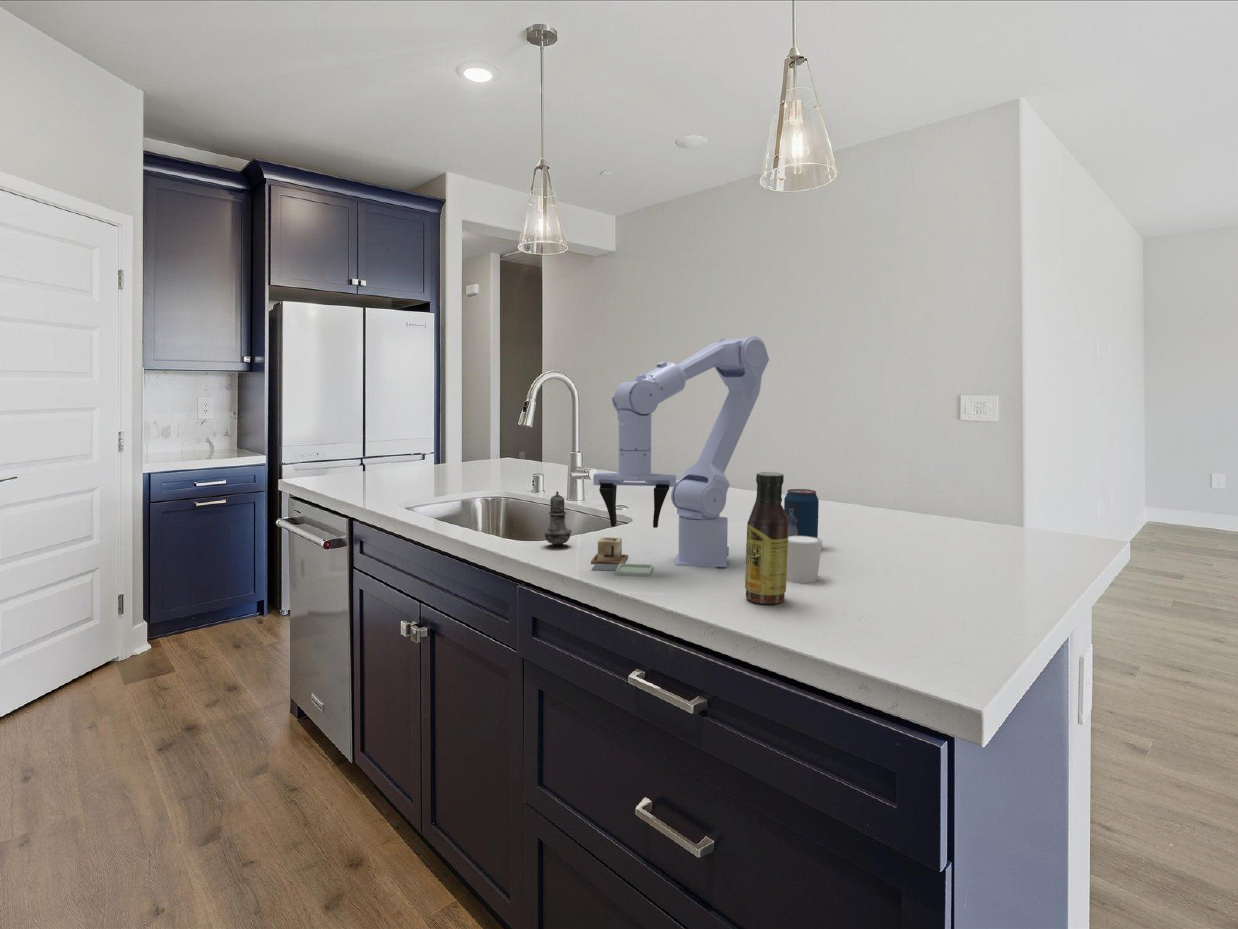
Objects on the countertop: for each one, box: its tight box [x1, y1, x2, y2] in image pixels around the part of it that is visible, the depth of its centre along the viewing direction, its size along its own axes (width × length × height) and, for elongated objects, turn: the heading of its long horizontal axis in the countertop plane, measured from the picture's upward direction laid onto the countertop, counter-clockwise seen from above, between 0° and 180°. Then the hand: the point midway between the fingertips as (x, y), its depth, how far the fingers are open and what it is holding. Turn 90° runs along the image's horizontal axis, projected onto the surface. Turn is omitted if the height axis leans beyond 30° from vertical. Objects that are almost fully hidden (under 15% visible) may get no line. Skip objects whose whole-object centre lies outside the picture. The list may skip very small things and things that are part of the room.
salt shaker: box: [542, 491, 573, 550], centre depth 141 cm, size 6×6×12 cm
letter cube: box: [597, 536, 623, 562], centre depth 129 cm, size 4×4×4 cm
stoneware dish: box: [614, 563, 654, 577], centre depth 122 cm, size 6×6×1 cm
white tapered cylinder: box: [786, 536, 823, 584], centre depth 118 cm, size 7×7×7 cm
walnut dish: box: [590, 553, 629, 565], centre depth 130 cm, size 6×6×1 cm
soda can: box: [783, 488, 820, 538], centre depth 142 cm, size 7×7×12 cm
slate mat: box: [591, 564, 618, 572], centre depth 124 cm, size 4×4×1 cm
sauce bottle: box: [744, 471, 788, 605], centre depth 104 cm, size 7×6×20 cm
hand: (634, 526), depth 121 cm, fingers open, 7 cm apart
